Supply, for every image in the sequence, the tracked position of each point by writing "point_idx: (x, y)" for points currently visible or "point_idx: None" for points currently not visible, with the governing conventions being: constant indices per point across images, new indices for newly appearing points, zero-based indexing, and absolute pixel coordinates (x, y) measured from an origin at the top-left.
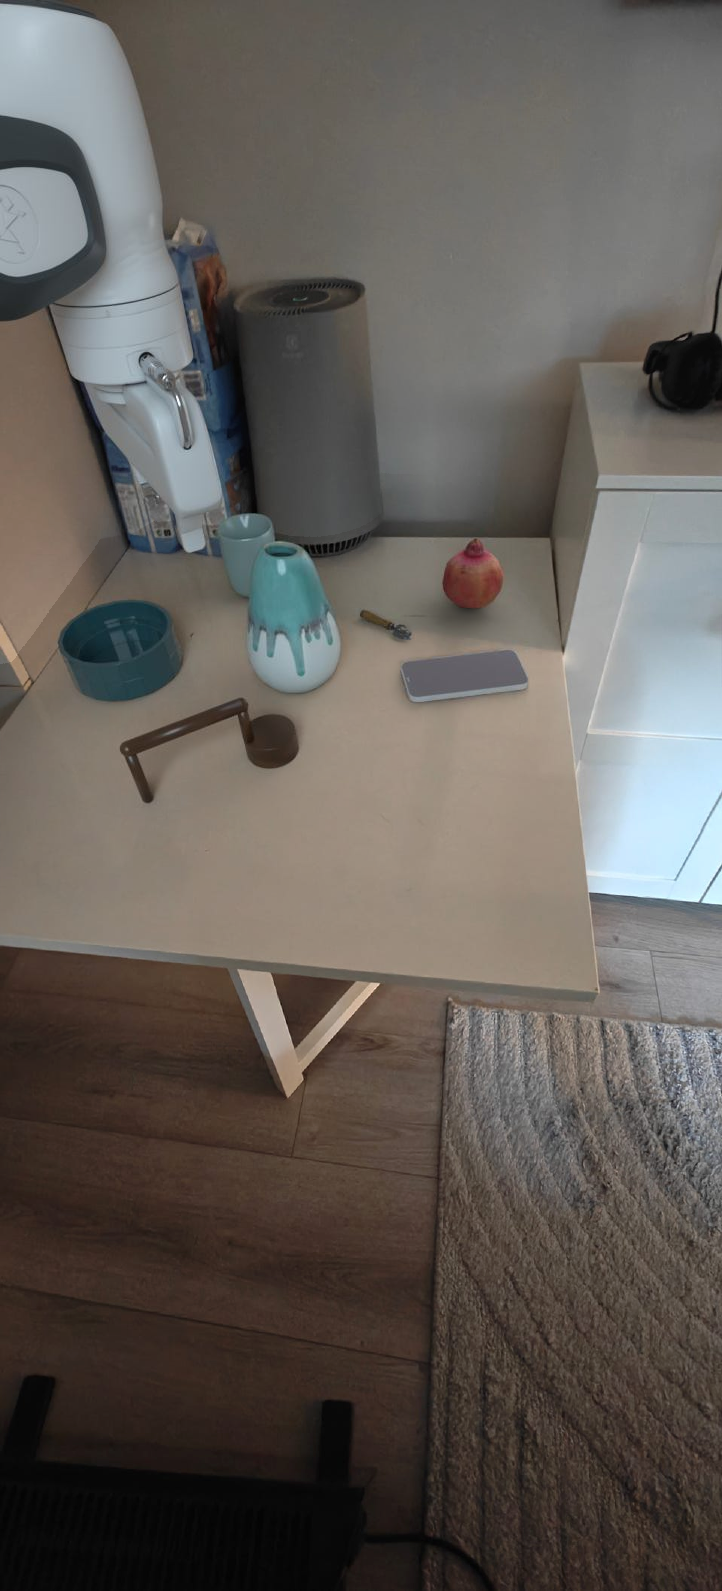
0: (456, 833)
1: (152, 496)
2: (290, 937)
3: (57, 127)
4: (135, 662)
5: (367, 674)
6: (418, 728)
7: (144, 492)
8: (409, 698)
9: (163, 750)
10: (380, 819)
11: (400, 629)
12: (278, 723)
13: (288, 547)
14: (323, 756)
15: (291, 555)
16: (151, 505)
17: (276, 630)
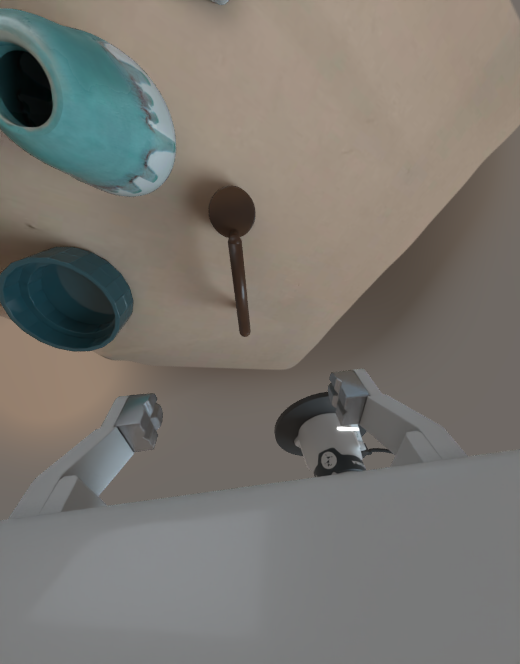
0: (400, 93)
1: (153, 421)
2: (380, 260)
3: None
4: (116, 301)
5: (149, 36)
6: (268, 30)
7: (155, 441)
8: (221, 3)
9: (198, 288)
10: (346, 156)
11: None
12: (225, 201)
13: None
14: (258, 169)
15: None
16: (162, 413)
17: (143, 163)
